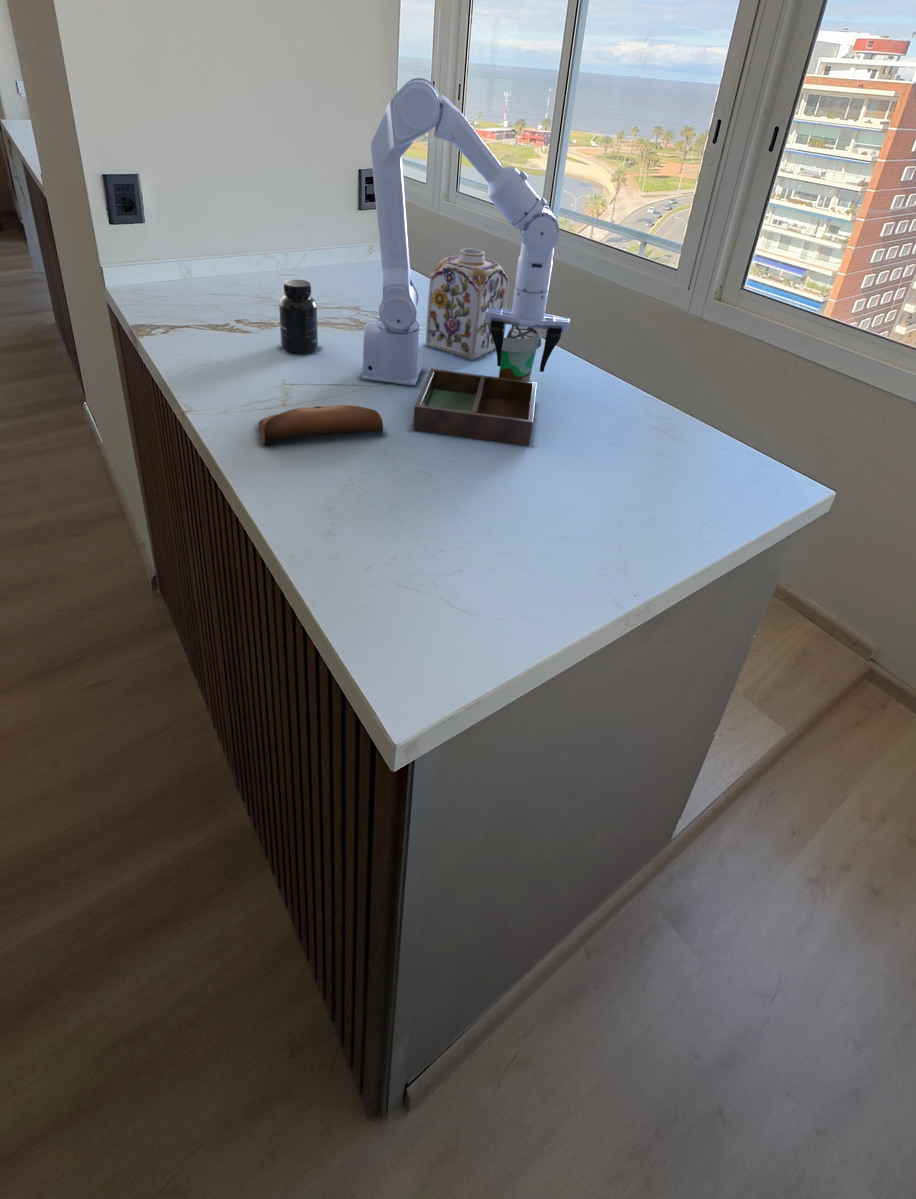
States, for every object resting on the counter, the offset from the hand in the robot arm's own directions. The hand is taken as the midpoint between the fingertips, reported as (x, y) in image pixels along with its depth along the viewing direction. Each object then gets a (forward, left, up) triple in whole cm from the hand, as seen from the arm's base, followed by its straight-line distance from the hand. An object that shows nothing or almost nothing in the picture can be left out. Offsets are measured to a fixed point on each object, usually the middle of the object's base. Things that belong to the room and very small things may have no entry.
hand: (520, 367), depth 131 cm
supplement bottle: (-42, +4, -4) cm, 42 cm away
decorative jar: (-12, +17, -4) cm, 21 cm away
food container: (0, 0, -4) cm, 4 cm away
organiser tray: (-6, -16, -4) cm, 17 cm away
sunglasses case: (-29, -29, -4) cm, 41 cm away
